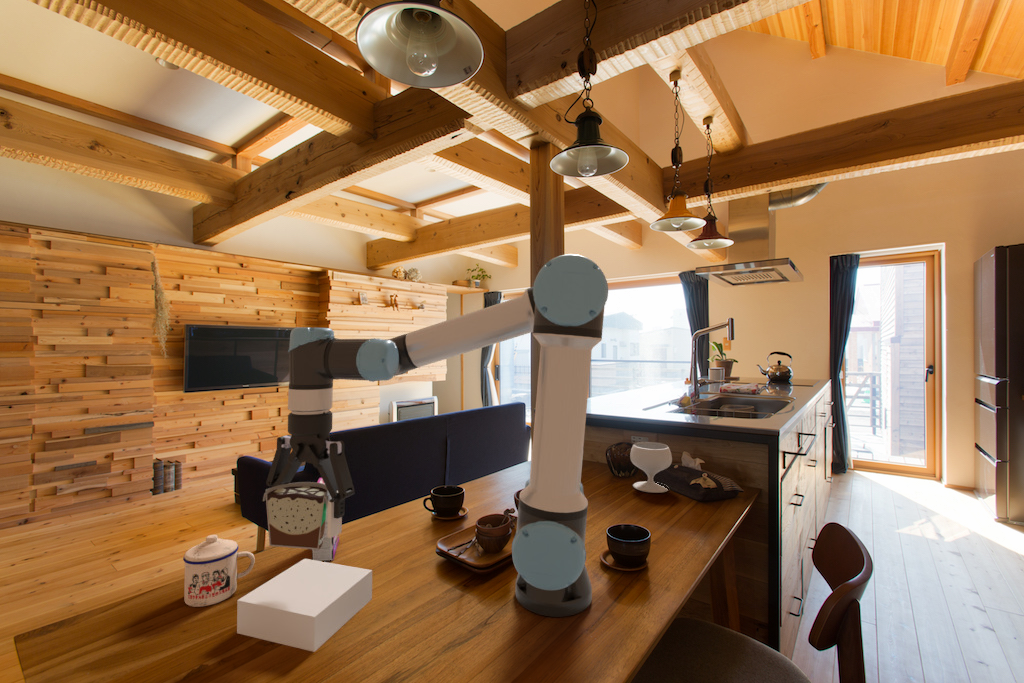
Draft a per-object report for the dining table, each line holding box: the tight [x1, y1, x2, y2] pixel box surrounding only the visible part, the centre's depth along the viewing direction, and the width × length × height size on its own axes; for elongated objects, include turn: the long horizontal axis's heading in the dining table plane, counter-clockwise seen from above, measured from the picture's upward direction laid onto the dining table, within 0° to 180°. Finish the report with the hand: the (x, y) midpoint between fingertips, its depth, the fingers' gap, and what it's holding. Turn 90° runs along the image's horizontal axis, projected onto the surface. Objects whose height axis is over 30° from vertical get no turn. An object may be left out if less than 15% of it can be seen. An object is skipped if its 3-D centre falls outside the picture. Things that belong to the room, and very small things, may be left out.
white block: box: [236, 558, 373, 653], centre depth 83 cm, size 16×16×6 cm
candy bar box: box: [311, 477, 340, 562], centre depth 109 cm, size 11×5×16 cm, turn 14°
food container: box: [262, 481, 332, 550], centre depth 84 cm, size 12×6×10 cm, turn 83°
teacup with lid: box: [182, 534, 256, 608], centre depth 90 cm, size 12×9×12 cm
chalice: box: [629, 441, 673, 494], centre depth 159 cm, size 14×14×15 cm
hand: (308, 529), depth 84 cm, fingers closed on food container, 11 cm apart
